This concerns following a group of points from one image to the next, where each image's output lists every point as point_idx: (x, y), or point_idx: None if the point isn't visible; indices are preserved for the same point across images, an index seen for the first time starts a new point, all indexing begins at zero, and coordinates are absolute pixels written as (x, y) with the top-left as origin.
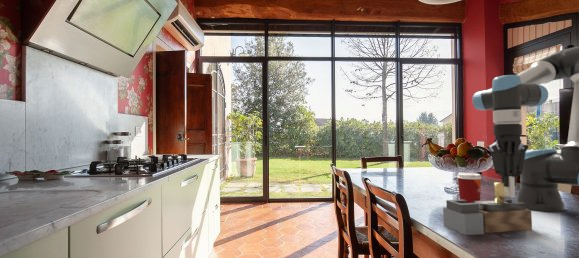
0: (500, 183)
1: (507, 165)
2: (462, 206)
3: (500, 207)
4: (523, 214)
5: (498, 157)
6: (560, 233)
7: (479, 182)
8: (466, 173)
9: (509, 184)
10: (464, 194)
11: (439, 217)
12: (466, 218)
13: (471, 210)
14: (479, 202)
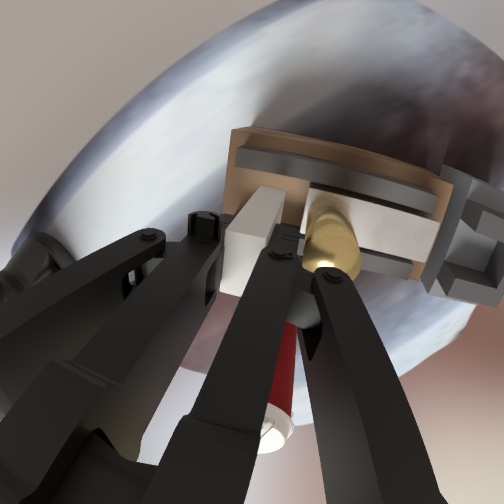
0: (348, 244)
1: (268, 314)
2: None
3: (377, 175)
4: (275, 134)
5: (404, 426)
6: (204, 73)
7: None
8: None
9: (275, 223)
10: (293, 369)
11: (388, 330)
12: None
13: (493, 211)
14: (423, 245)
